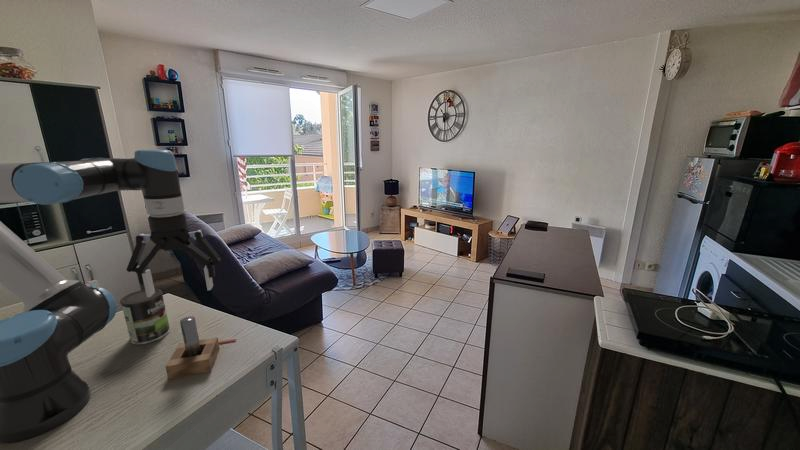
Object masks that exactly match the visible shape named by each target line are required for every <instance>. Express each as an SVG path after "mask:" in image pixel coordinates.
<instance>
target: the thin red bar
mask: <svg viewBox="0 0 800 450" xmlns="http://www.w3.org/2000/svg"><path fill="white" fill-rule="evenodd" d="M236 341H237V338H232V339H225V340H218V342H219V345H220V344H221V345H222V344H226V343H232V342H236Z"/></svg>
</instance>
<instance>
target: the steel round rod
mask: <svg viewBox="0 0 800 450" xmlns="http://www.w3.org/2000/svg"><path fill="white" fill-rule="evenodd" d="M179 325H180V330H181V333H182V339H183V343H184V344H185V349H186V354H187V357H192V356H198V355H201V348H200V343H199V340H200V339H199V338H200V337H199V332H198V327H197V322H196V318H195V316H191V315H190V316H186V317H184V318H182V319H180V321H179Z"/></svg>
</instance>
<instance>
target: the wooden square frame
mask: <svg viewBox="0 0 800 450" xmlns="http://www.w3.org/2000/svg"><path fill="white" fill-rule="evenodd" d="M218 341H219V337H217V336H216V337H211V338H205V339H199V343H200V348H201V355H198V356H192V357H187V354H186V349H185V344H184V342H180V343H178V345H177V347H176V348H175V350H174V351H173V353H172V355H171V357H170V358H169V360H168V362H167V363H166V365H165V370H166V374H167V375H166V376H167V380H172V379H176V378H183V377H189V376H194V375H199V374H204V373H210V372H212V369H213V367H214V365H215V363H216V360H217V357H218V354H219V351H220V344H219V342H218Z"/></svg>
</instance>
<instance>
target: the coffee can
mask: <svg viewBox="0 0 800 450" xmlns="http://www.w3.org/2000/svg"><path fill="white" fill-rule="evenodd" d="M154 289H155V293H154V294H153V295H152V296H151V297H147V295H146V291H145V289H141V290H138V291H137V290H136V291H135V292H132V293H128V294H127V295H125V296H122V298H121V299H120V300H119V303H120V305H121V308H122V312H123V315H124V319H125V320H124V321H125V324H126V328H127V333H128V336H129V342H130V343H131V344H133V345H138V346H139V345H146V344H150V343H153V342H156V341H159V340H160V339H162V338H164V337H166V336H167V335H168V334H169V333H170V330H171V328H170V324H169V320H168V315H167V310H166V304H165V300H164V295H163V290H162V289H160V288H154Z"/></svg>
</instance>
